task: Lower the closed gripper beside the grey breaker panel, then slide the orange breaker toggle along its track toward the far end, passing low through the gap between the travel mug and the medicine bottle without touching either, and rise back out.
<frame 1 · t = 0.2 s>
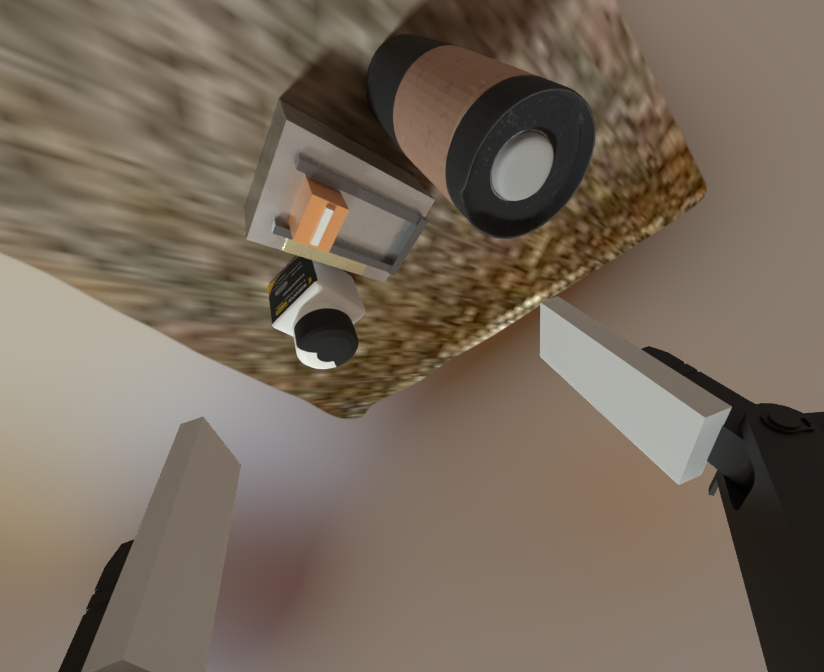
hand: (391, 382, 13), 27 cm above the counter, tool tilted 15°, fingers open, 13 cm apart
travel mug: (403, 86, 30), on the counter
toggle: (317, 216, 28), point 8 cm above the counter, slide at 0.0 cm, touching breaker panel
medicine bottle: (311, 280, 41), on the counter
breaker panel: (333, 190, 34), on the counter
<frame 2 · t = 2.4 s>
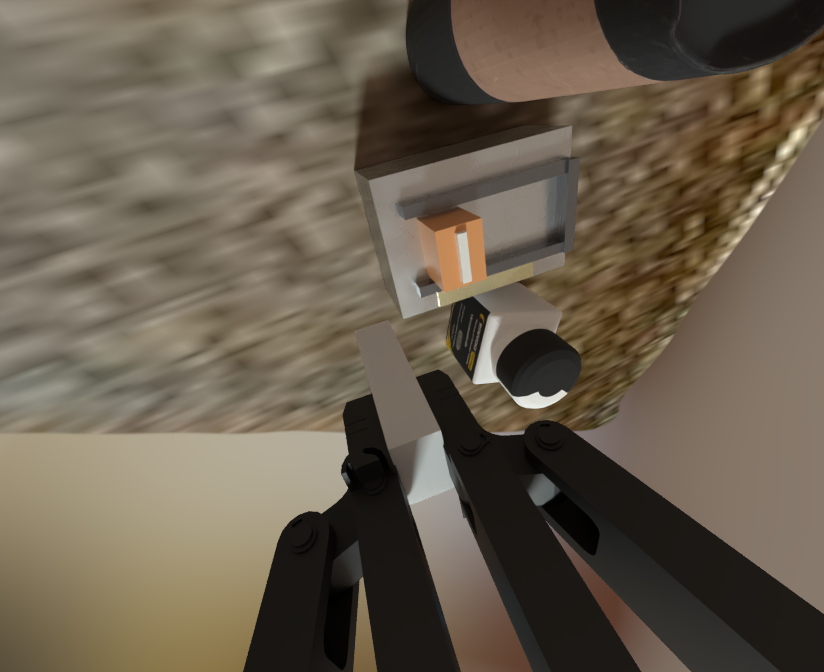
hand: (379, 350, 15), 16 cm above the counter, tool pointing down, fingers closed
travel mug: (453, 43, 24), on the counter
toggle: (452, 249, 22), point 8 cm above the counter, slide at 0.0 cm, touching breaker panel
medicine bottle: (480, 312, 36), on the counter
breaker panel: (449, 212, 29), on the counter
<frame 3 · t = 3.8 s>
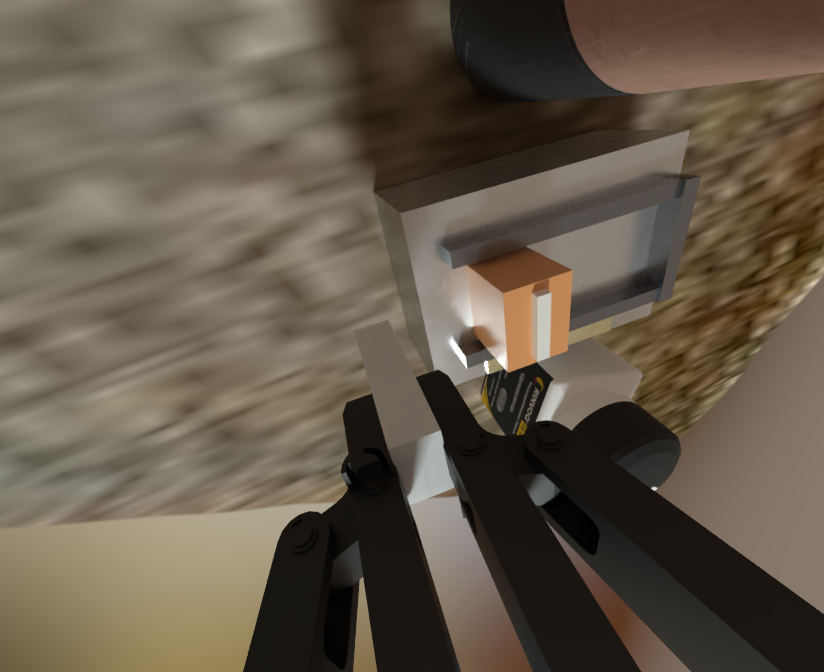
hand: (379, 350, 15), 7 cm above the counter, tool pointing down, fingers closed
travel mug: (515, 15, 17), on the counter
toggle: (518, 308, 16), point 8 cm above the counter, slide at 0.0 cm, touching breaker panel
medicine bottle: (523, 360, 29), on the counter
breaker panel: (495, 243, 22), on the counter
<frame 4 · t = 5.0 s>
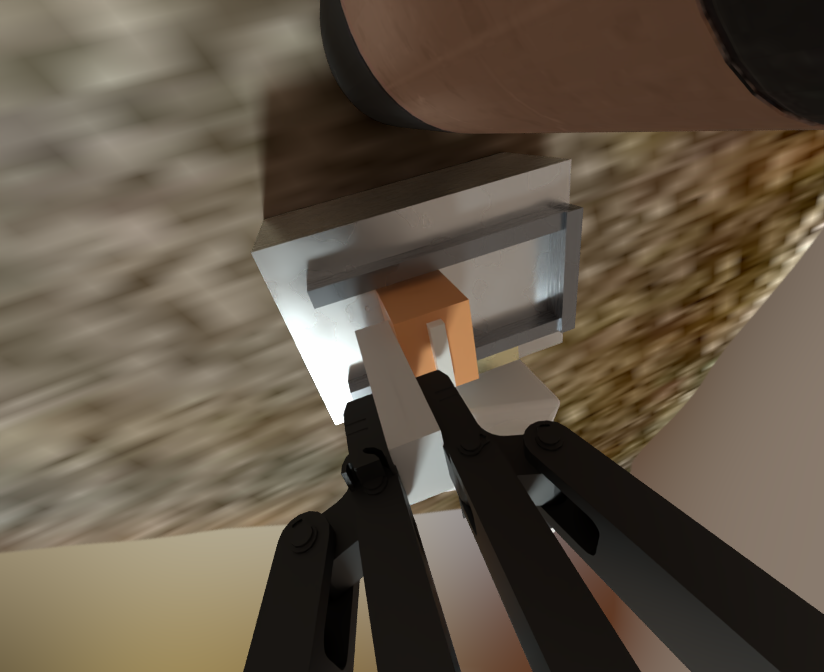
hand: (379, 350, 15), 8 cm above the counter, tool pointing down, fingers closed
travel mug: (397, 38, 16), on the counter
toggle: (428, 335, 15), point 8 cm above the counter, slide at 1.7 cm, touching breaker panel, gripper
medicine bottle: (457, 381, 28), on the counter
breaker panel: (407, 267, 22), on the counter
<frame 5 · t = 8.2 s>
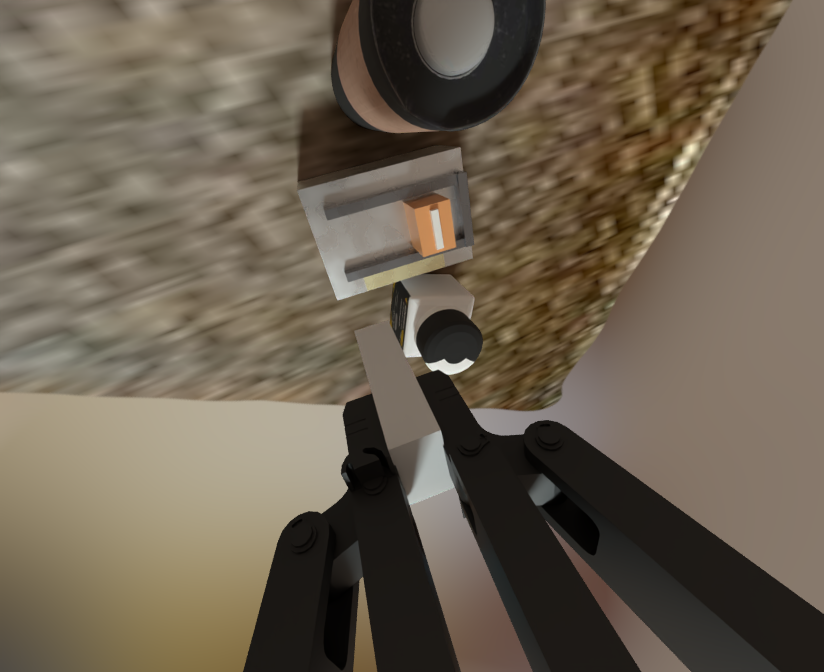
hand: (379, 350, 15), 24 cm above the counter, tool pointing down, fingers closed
travel mug: (372, 82, 30), on the counter
toggle: (430, 224, 29), point 8 cm above the counter, slide at 5.7 cm, touching breaker panel
medicine bottle: (419, 300, 42), on the counter
breaker panel: (381, 215, 36), on the counter
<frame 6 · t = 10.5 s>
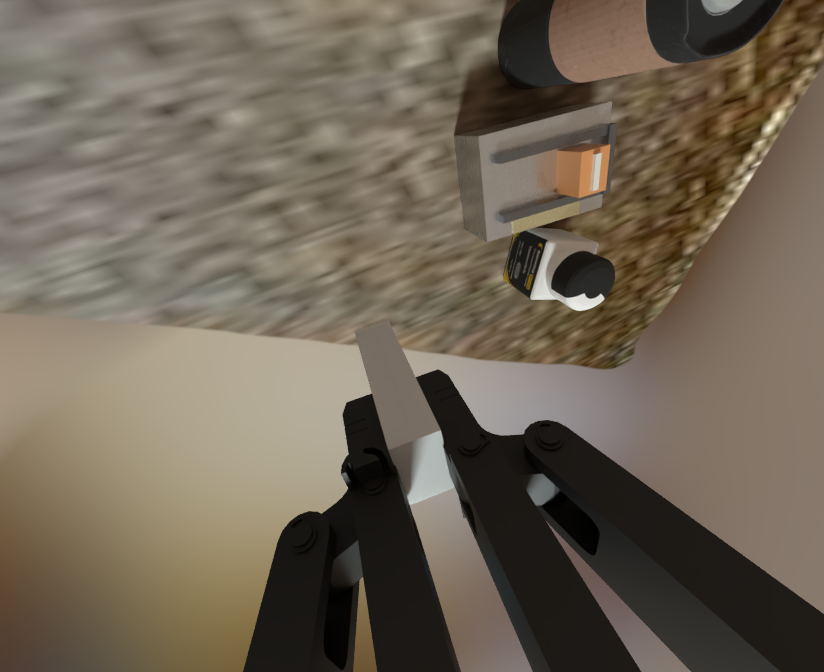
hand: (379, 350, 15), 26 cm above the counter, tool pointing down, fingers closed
travel mug: (528, 45, 34), on the counter
toggle: (582, 170, 33), point 8 cm above the counter, slide at 5.7 cm, touching breaker panel
medicine bottle: (530, 253, 46), on the counter
breaker panel: (515, 170, 40), on the counter
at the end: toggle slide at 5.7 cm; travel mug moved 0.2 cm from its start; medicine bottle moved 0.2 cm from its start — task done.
